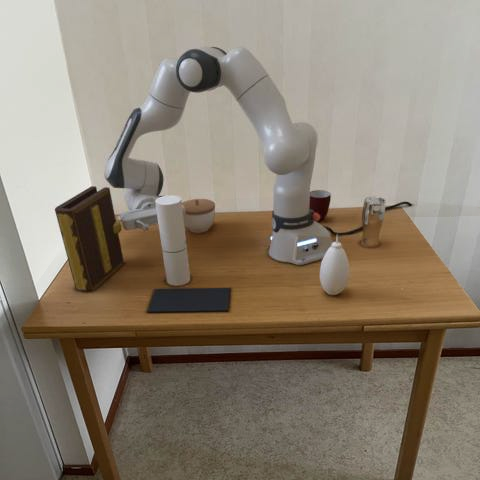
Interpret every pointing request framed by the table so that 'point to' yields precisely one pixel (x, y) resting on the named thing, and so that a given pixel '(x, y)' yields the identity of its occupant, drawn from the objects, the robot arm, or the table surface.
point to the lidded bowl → (199, 214)
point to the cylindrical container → (173, 239)
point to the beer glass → (372, 220)
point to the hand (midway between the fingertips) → (160, 224)
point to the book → (90, 237)
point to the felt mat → (189, 300)
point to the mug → (320, 203)
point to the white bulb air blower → (334, 269)
